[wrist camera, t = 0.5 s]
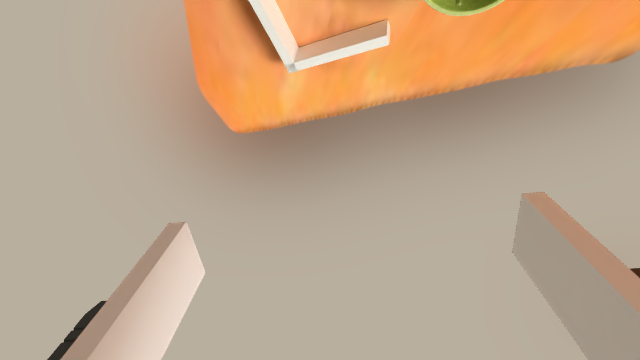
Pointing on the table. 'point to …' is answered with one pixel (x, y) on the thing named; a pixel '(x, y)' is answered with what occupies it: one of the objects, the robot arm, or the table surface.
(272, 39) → the white u-shaped frame
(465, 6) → the plant pot
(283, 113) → the table surface
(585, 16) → the table surface
